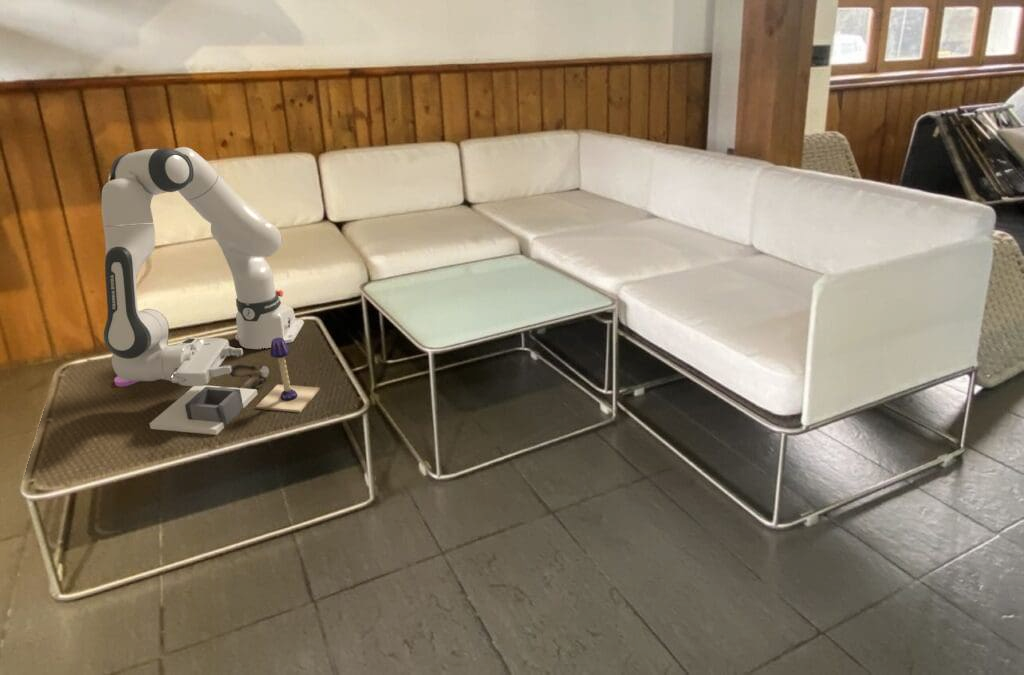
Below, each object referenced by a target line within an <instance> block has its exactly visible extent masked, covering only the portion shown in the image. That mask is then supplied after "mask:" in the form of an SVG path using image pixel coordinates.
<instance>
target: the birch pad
mask: <svg viewBox="0 0 1024 675" xmlns="http://www.w3.org/2000/svg"><path fill="white" fill-rule="evenodd" d="M290 386H291V389H293V390H295V391H296V393H297V397H296V398H295V399H293V400H290V401H284V400H281V393H282V392H283V391H284V385H283V384H275V386H274V388H273V389H271V391H269V393H267V395H266V396H265V397H264V398H262V399H261V401H260V402H259V403H258V404H257V405H256V406H255V409H256V410H268V411H276V412H277V411H278V412H291V413H301V412H302V411H303V410H304V408H306V407H307V406H308V404H309V403H310V402H311V400H312V399H313V398H315V396H316V395H317V393H319V391H320V387H316V386H315V387H314V386H304V385H303V386H302V385H293V384H292V385H291V384H290Z"/></svg>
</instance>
